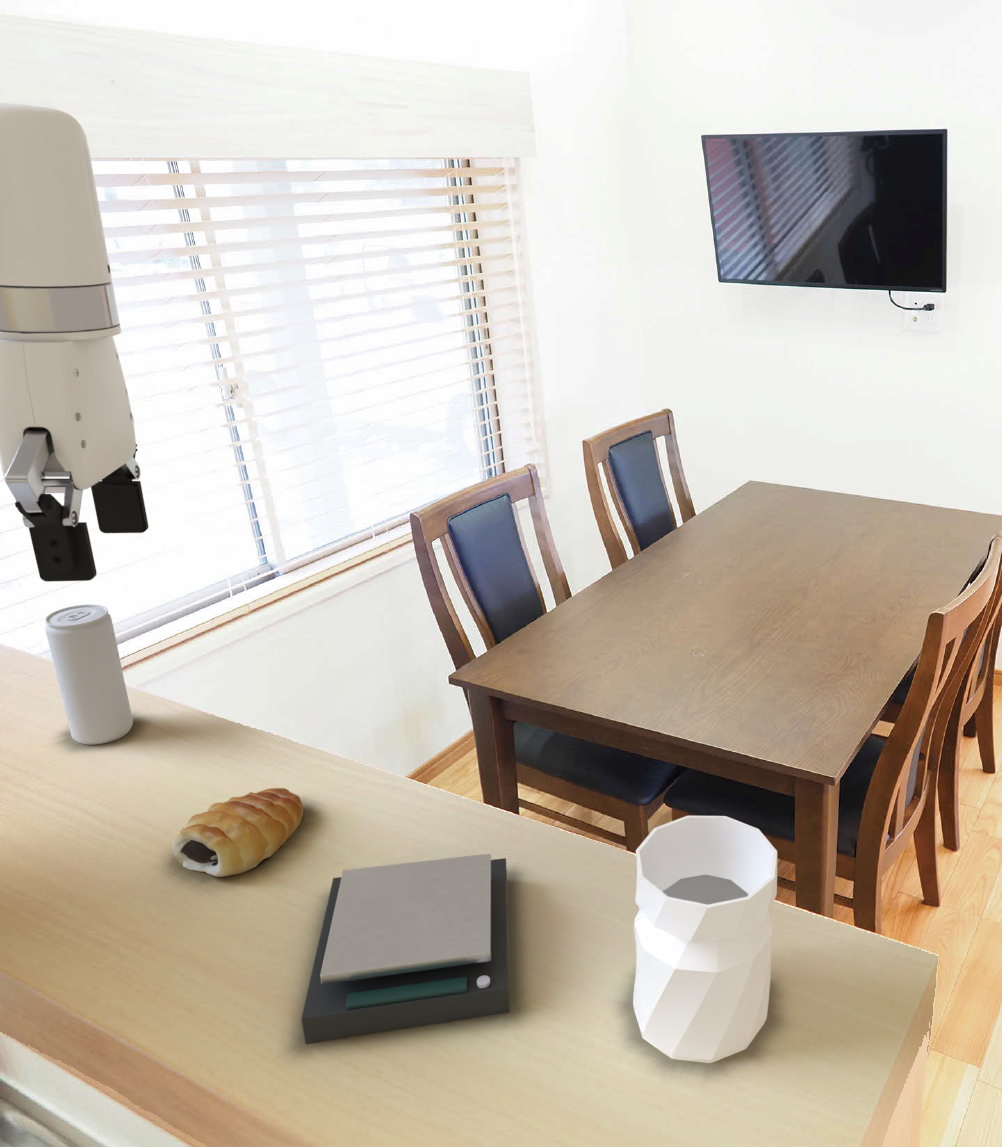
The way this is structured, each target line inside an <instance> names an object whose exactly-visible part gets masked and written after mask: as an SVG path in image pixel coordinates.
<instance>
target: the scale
mask: <svg viewBox="0 0 1002 1147" xmlns="http://www.w3.org/2000/svg"><path fill="white" fill-rule="evenodd" d="M341 877H342V876H339V877H333V878H332V880H331V881H332V882H331V886H330V891H329V895H328V899H327V904H326V908H325V912H324V917H323V921H322V926H321V930H320V935H319V939H318V944H317V948H316V953H315V956H314V962H313V965H312V970H311V975H310V978H309V984H308V987H307V992H306V996H305V1001H304V1005H303V1009H302V1014H301V1017H300V1020H301V1026H302V1033H303V1039H304V1044H305V1045H309V1044H316V1043H322V1042H327V1041H328V1042H329V1041H334V1040H340V1039H341V1040H342V1039H348V1038H354V1037H355V1038H356V1037H361V1036H367V1035H374V1034H380V1033H387V1032H393V1031H401V1030H406V1029H414V1028H419V1027H427V1026H434V1025H440V1024H447V1023H453V1022H458V1021H465V1020H473V1019H479V1018H485V1017H491V1016H498V1015H505V1014H509V1013H510V1012H511V1011H510V1010H511V1009H510V1008H511V1007H510V1006H511V1005H510V1001H511V1000H510V959H509V957H510V956H509V955H510V954H509V952H510V951H509V910H508V909H509V908H508V907H509V906H508V903H509V902H508V901H509V900H508V871H507V859H506V858H505V857H504V858H503V857H502V858H494V859H491V961H489V962H482V963H475V964H468V965H460V966H453V967H446V968H439V969H432V970H425V971H418V972H410V973H403V974H396V975H389V976H382V977H375V978H368V979H360V980H353V981H346V982H339V983H332V984H325V985H322V984H321V978H320V974H321V969H322V965H323V960H324V955H325V951H326V946H327V941H328V937H329V932H330V928H331V923H332V918H333V914H334V909H335V904H336V900H337V895H338V890H339V886H340V881H341Z"/></svg>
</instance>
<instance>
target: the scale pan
mask: <svg viewBox="0 0 1002 1147" xmlns="http://www.w3.org/2000/svg"><path fill="white" fill-rule="evenodd" d="M491 860H492V854H491V853H484V854H475V855H467V856H457V857H456V856H455V857H448V858H440V859H438V858H437V859H431V860H423V861H422V860H420V861H413V862H404V863H395V864H386V865H377V866H369V867H359V868H351V869H343V870H342V873H341V876H340V877H341V881H340V886H339V890H338V895H337V900H336V904H335V909H334V914H333V918H332V923H331V928H330V932H329V937H328V941H327V946H326V951H325V955H324V960H323V965H322V969H321V974H320V978H321V984H322V985H325V984H332V983H339V982H346V981H353V980H360V979H368V978H375V977H382V976H389V975H396V974H403V973H410V972H418V971H425V970H432V969H439V968H446V967H453V966H460V965H468V964H475V963H482V962H489V961H491Z"/></svg>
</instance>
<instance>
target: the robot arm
mask: <svg viewBox="0 0 1002 1147" xmlns="http://www.w3.org/2000/svg"><path fill="white" fill-rule="evenodd" d="M121 333H122V328H121V323H120V317H119V311H118V305H117V299H116V295H115V290H114V283H113V279H112V271H111V266H110V261H109V255H108V250H107V243H106V237H105V232H104V226H103V221H102V214H101V209H100V204H99V197H98V192H97V187H96V180H95V176H94V170H93V164H92V158H91V153H90V148H89V143H88V140H87V135H86V132H85V130H84V128H83V127H82V125H81V123H80V122H79V121H78V120H77V119H76V118H75V117H73V116H72V115H71V114H69V113H67V112H65V111H62V110H60V109H55V108H51V107H45V106H38V105H30V104H29V105H28V104H20V103H19V104H18V103H10V102H9V103H8V102H0V467H1V472H2V477H3V480H4V483H5V484H6V486H7V487H8V489H9V491H10V492H11V494H12V496H13V497H14V499H15V502H14V506H15V508H16V509H17V511H18V512H19V513H20V514H21V515H22V523H23V525H24V527H25V528H28V531H29V536H30V541H31V544H32V548H33V552H34V557H35V562H36V566H37V571H38V575H39V578H40V579H41V580H42V581H44V582H51V583H52V582H89V581H92V580H93V579H94V578H96V576H97V574H98V573H97V568H96V562H95V558H94V553H93V548H92V542H91V538H90V534H89V528H88V523H87V522H86V521H80V515H81V507H82V499H83V493H84V492H83V491H84V490H88V489H89V488H90V490H91V495H92V500H93V504H94V510H95V514H96V515H95V516H96V520H97V525H98V529H99V531H100V532H101V533H103V534H143V533H145V532H146V531H147V530H148V529H149V521H148V516H147V511H146V505H145V500H144V494H143V487H142V483H141V480H140V478H141V468H140V465H139V464H138V462H137V461H136V454H137V452H138V448H137V447H138V443H137V441H136V440H137V439H136V432H135V424H134V423H135V421H134V420H135V419H134V414H133V413H132V408H131V403H130V398H129V393H128V389H127V384H126V380H125V375H124V371H123V368H122V364H121V359H120V357H119V352H118V349H117V345H116V342H115V339H114V336H117V335H120V334H121ZM53 494H63V503H62V504H61V502H59V501H58V500H57V498H55V497H54V495H53ZM79 521H80V522H79Z"/></svg>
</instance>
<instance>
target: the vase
mask: <svg viewBox="0 0 1002 1147" xmlns="http://www.w3.org/2000/svg"><path fill="white" fill-rule="evenodd" d="M635 858H636V868H637V870H636V872H637V873H636V885H635V886H636V887H635V896H634V903H635V904H636V905H637V907H638V908H639V909H638V912H637V914H636V915H635V918H634V920H633V931H634V940H635V941H634V942H635V954H636V962H635V963H636V964H635V977H634V978H635V979H634V986H633V995H632V1006H633V1011H634V1014H635V1018H636V1020H637V1024H638V1027H639V1031H640V1034H641V1037H642V1039H643V1040H645V1041H646V1042H647V1043H649V1044H650V1045H651V1046H653V1047H654V1048H656V1049H657V1050H659V1051H660V1052H661V1053H663V1054H664V1055H666V1056H667V1057H668V1058H669V1059H671V1060H679V1061H687V1062H696V1063H703V1064H712V1063H713V1064H714V1063H715V1062H717V1061H720V1060H723V1059H725V1058H727V1057H730V1056H733V1055H734V1054H735V1055H736V1054H737V1053H741V1052H742V1051H745V1050H747V1048H748V1047H749V1046H750V1044H751V1043H752V1042H753V1040H754V1039H755V1037H756V1036H757V1035H758V1033H759V1032H760V1030H761V1029H762V1028H763V1026H764V1025H765V1023H766V1021H767V1018H768V1009H769V1003H770V1002H769V1001H770V990H771V974H772V973H771V972H772V946H773V938H774V930H773V921H772V913H771V912H772V911H771V908H772V906H773V904H774V902H775V899H776V897H777V895H778V894H777V892H778V891H777V890H778V850H777V849H776V848H775V847H774V845H773V844H772V843H771V842H770V841H769V839H768V838H767V836H765V835H764V833H762V831H761V830H760V829H759V828H757V827H755V826H752V825H749V824H747V823H744V822H742V821H739V820H737V819H735V818H732V817H729V816H726V815H685V816H683V817H680V818H677V819H675V820H672V821H670V822H669V821H668V822H667V823H663V824H661V825H659V826H656V827H653V829H652V830H651V831H650V833H649V834H648V835H646V837H645V839H643V841H642V842H641V843H640V845H639V846H638V847H637V848H636V850H635Z"/></svg>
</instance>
